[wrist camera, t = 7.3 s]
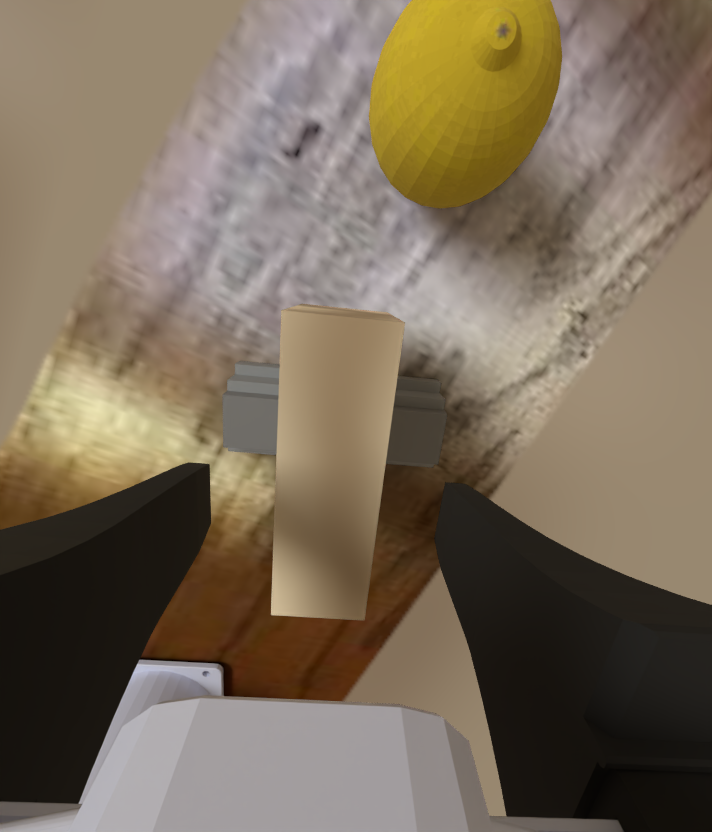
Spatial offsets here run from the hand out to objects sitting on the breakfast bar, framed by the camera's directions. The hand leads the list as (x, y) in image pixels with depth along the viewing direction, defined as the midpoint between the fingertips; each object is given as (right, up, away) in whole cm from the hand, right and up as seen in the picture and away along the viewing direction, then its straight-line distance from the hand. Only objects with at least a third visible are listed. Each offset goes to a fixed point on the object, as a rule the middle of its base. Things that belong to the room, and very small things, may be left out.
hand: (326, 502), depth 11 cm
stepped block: (0, +3, +8) cm, 9 cm away
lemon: (+4, +14, +5) cm, 15 cm away
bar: (0, +2, +6) cm, 6 cm away
